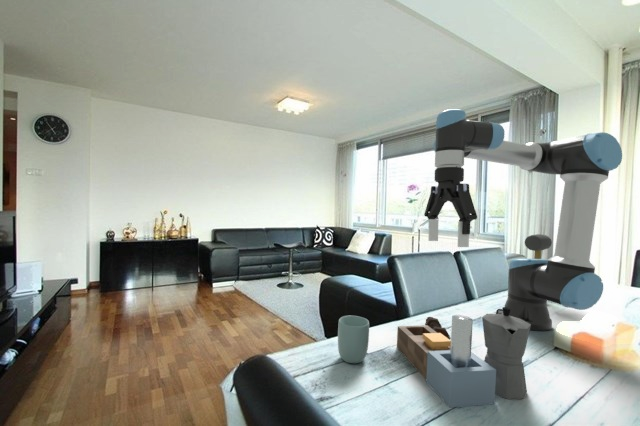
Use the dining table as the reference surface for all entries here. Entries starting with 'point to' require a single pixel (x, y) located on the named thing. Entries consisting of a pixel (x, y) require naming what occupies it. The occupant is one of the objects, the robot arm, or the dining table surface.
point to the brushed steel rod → (461, 341)
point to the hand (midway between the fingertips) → (447, 243)
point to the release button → (436, 341)
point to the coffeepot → (506, 352)
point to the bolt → (436, 326)
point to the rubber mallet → (538, 244)
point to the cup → (353, 338)
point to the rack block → (461, 380)
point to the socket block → (415, 345)
